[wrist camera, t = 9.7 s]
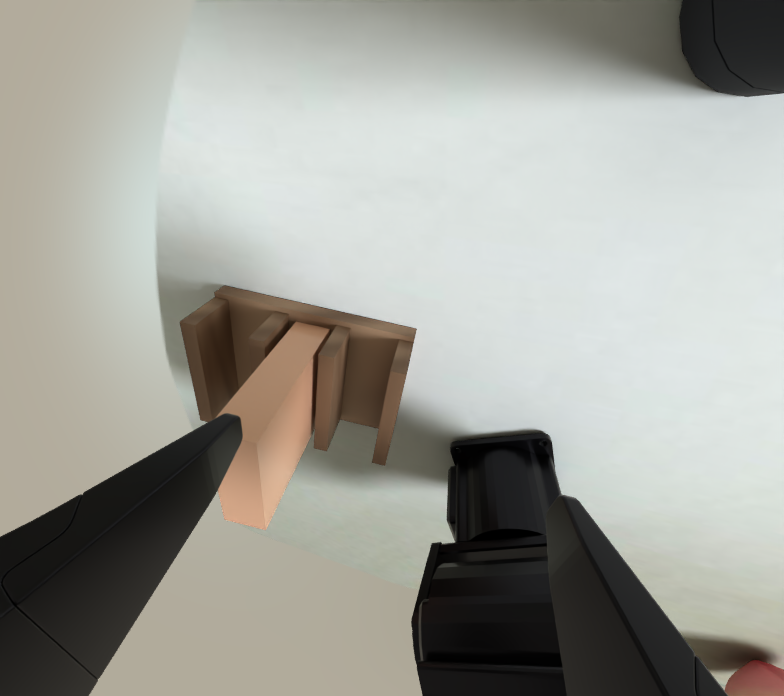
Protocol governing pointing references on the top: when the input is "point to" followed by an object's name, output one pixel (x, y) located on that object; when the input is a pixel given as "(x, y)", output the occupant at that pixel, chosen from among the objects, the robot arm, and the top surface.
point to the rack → (335, 362)
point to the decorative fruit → (756, 680)
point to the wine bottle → (735, 44)
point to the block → (272, 426)
